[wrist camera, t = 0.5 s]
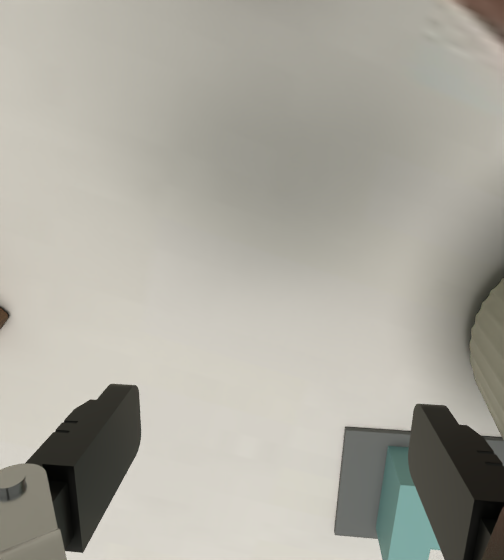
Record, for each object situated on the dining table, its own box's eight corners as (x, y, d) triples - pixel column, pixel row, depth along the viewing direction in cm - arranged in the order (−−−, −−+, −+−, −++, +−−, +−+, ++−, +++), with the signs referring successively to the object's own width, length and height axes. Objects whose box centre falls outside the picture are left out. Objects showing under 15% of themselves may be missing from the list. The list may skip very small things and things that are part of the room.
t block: (388, 445, 33) (400, 485, 30) (503, 454, 33) (530, 495, 29) (375, 528, 36) (385, 573, 33) (481, 537, 36) (503, 584, 32)
